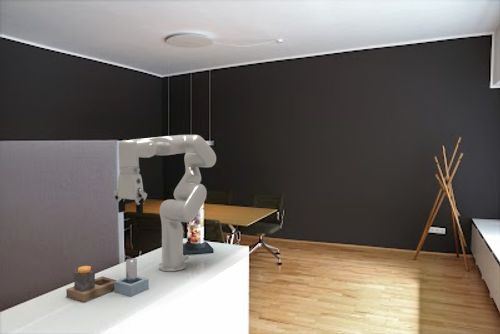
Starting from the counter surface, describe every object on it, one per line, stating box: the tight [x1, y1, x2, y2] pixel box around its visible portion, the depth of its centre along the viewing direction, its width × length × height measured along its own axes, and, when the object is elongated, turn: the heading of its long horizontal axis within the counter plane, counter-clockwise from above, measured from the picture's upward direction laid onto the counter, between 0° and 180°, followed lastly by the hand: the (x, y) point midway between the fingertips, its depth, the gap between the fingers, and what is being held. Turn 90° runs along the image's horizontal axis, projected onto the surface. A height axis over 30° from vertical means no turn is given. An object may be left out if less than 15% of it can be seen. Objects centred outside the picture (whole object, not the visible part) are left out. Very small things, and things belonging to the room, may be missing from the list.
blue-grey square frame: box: [113, 275, 149, 297], centre depth 149 cm, size 9×9×4 cm
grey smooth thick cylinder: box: [125, 258, 138, 284], centre depth 148 cm, size 4×4×12 cm
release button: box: [77, 265, 92, 274], centre depth 142 cm, size 4×4×8 cm
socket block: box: [65, 270, 118, 303], centre depth 146 cm, size 16×10×9 cm, turn 150°
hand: (130, 213), depth 155 cm, fingers open, 9 cm apart
